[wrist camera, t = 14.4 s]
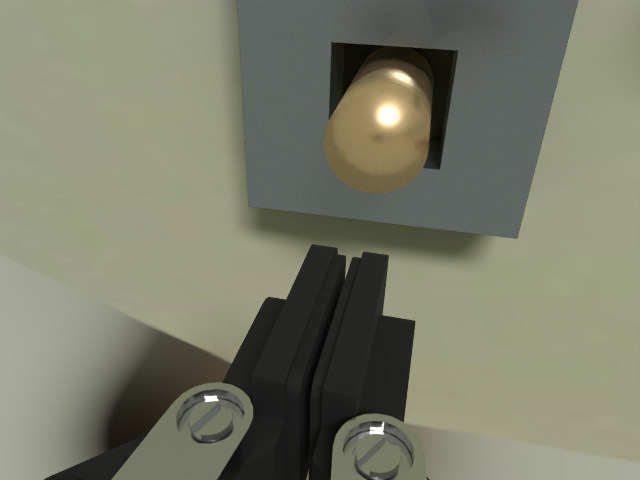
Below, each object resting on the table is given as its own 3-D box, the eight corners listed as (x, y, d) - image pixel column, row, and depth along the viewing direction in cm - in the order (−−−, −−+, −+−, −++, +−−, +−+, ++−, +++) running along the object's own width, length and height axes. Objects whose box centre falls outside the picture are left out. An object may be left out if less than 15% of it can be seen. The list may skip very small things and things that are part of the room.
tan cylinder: (438, 47, 26) (436, 98, 19) (428, 125, 28) (421, 198, 21) (359, 42, 27) (325, 89, 19) (354, 118, 29) (322, 187, 21)
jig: (625, -287, 19) (662, -330, 16) (509, 202, 30) (517, 238, 26) (256, -274, 21) (220, -310, 18) (269, 176, 32) (248, 206, 29)
